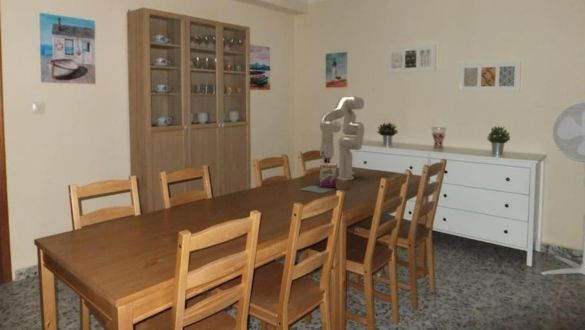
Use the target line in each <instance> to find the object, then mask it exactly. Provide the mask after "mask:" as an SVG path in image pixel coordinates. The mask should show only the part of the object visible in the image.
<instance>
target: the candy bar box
mask: <svg viewBox="0 0 585 330" xmlns="http://www.w3.org/2000/svg"><path fill="white" fill-rule="evenodd" d="M337 167H338V164H337V163H333V162H330V163H325V162H324V161H320V165H319V174H318V175H319V176H318V186H319V187H325V188H332V189H336V180H337Z"/></svg>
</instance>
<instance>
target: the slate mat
mask: <svg viewBox="0 0 585 330" xmlns="http://www.w3.org/2000/svg"><path fill="white" fill-rule="evenodd" d="M299 191H302V192H303V191H304V192H309V193H314V194H321V195H323V194H326V193H329V192H332V191H336V188H332V187H321V186H319V185H309V186H306V187H302V188H299Z"/></svg>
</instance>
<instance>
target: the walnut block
mask: <svg viewBox="0 0 585 330" xmlns="http://www.w3.org/2000/svg"><path fill="white" fill-rule="evenodd" d="M347 189H348V180H343V179H336V180H335V191H336V190H337V191H338V190H339V191H346V190H347Z"/></svg>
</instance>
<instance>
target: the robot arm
mask: <svg viewBox="0 0 585 330" xmlns="http://www.w3.org/2000/svg"><path fill="white" fill-rule="evenodd" d="M364 106H365V101H364V99H363V97H359V96H352V95H351V96H348V95H345V96H341V97H339V99H338V100H337V102H336V104H335V105H334V109H332V110H330V111H329V112H328V113H326V114H325V115H324V116H323V117H322V119H321V121H320V123H319V129H320V131H321V144H320V152H319V157H320V158H321V160H322V161H323V162H325V163H331V160H332V159H333V157H334V156H335V155H334V152H335V151H334V133H338V132H340V131H341V129H342V133H343V134H344V135H343V136H340V137H339V139H338V141H337V143H338V150H339V151H338V152H339V157H338V158H339V161H338V162H339V167H338V169H339V170H338V174H339V175H338V176H336V180H338V179H343V180H347V181H351V180H354V179H355V177H354V176H353V175H355V172H354V171H353V152H351V150H355V151H359V150H361V149H362V147H363V141H364V135H365V125H364V123H362V122H357V121H356V118H357V115H356V114H355V112H354V110H362V109H363V108H364ZM342 118H343V124H341V123H340V121H337V120H338V119H342Z"/></svg>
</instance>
